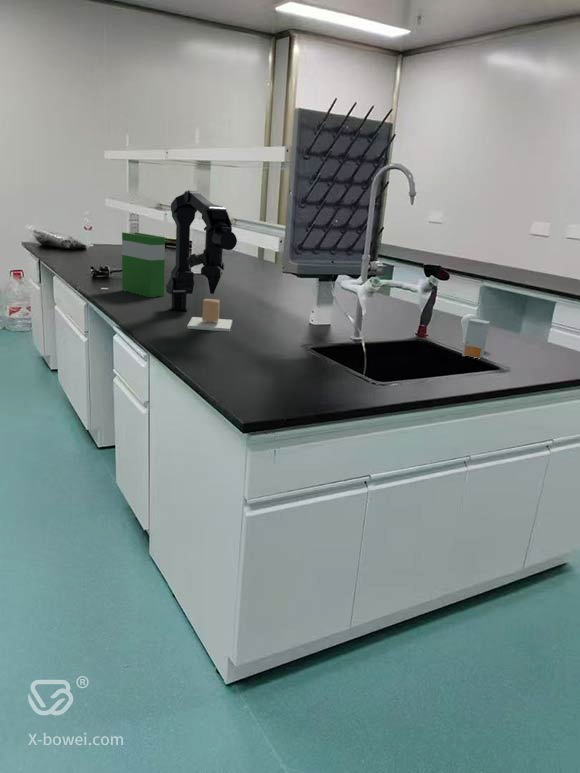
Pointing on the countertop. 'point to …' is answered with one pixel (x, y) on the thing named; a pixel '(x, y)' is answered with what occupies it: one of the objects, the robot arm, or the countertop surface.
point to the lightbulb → (466, 324)
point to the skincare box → (476, 338)
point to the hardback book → (143, 264)
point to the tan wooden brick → (211, 310)
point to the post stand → (210, 324)
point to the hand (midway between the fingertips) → (212, 293)
